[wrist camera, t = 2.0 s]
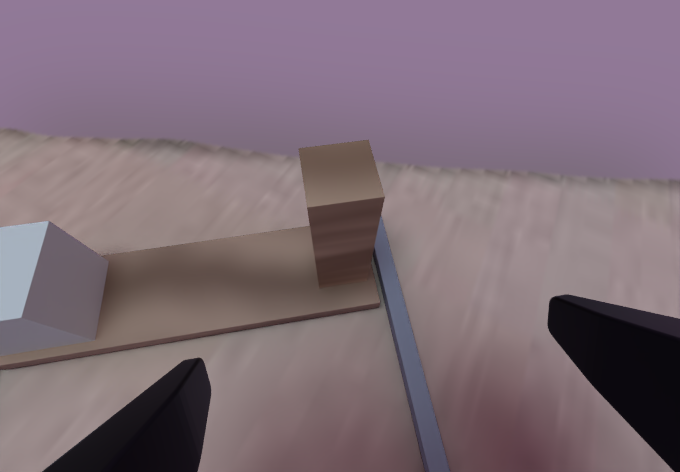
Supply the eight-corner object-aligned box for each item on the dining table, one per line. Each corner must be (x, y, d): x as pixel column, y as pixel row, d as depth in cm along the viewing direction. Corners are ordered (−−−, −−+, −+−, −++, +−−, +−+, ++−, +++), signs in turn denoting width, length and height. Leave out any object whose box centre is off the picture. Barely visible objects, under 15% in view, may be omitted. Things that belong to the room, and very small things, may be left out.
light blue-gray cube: (94, 340, 19) (21, 317, 15) (0, 356, 18) (-105, 337, 14) (108, 261, 21) (49, 221, 17) (25, 273, 21) (-59, 235, 16)
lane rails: (455, 510, 16) (462, 516, 15) (-105, 635, 14) (-134, 650, 13) (378, 218, 24) (379, 211, 23) (13, 271, 22) (-1, 265, 21)
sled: (378, 307, 21) (407, 228, 12) (4, 369, 19) (-281, 329, 10) (359, 226, 24) (372, 114, 15) (32, 273, 22) (-173, 177, 13)
